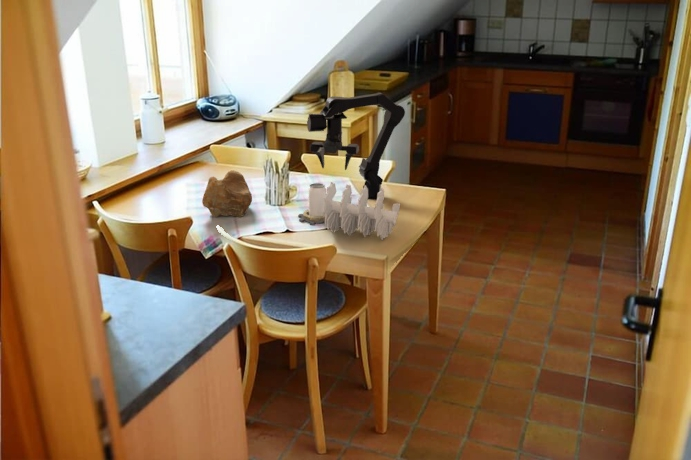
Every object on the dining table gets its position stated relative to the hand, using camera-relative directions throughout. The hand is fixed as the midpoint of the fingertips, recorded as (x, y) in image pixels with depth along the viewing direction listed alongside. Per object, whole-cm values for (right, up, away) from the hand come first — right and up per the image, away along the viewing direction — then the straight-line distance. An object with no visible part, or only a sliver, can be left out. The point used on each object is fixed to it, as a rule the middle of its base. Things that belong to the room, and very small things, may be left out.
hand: (334, 169), depth 258 cm
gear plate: (-6, -20, -15) cm, 26 cm away
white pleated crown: (+10, -26, -30) cm, 41 cm away
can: (-6, -19, -15) cm, 25 cm away
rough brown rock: (-39, -18, -10) cm, 44 cm away
